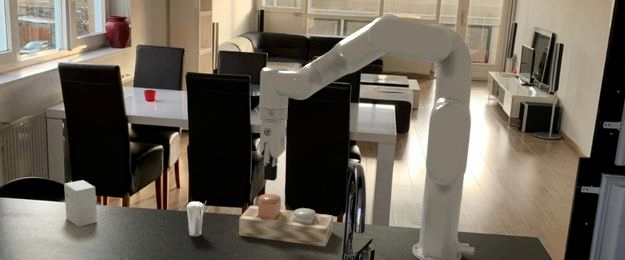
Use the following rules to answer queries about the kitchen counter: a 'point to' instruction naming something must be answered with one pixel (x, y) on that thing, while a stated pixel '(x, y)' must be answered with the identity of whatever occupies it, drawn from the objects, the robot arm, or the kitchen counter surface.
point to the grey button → (304, 216)
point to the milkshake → (195, 218)
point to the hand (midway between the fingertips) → (270, 179)
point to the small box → (80, 203)
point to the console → (286, 227)
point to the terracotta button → (269, 206)
